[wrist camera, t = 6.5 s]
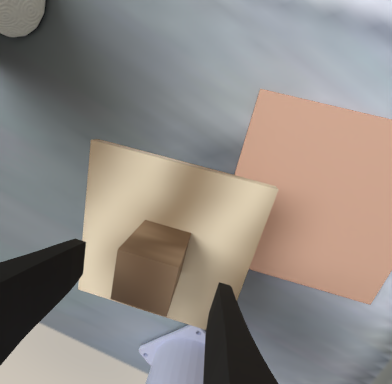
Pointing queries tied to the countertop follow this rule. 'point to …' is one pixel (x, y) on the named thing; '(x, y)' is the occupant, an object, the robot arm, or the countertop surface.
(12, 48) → the countertop surface
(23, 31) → the paper towel roll
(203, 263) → the lid
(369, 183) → the mat
